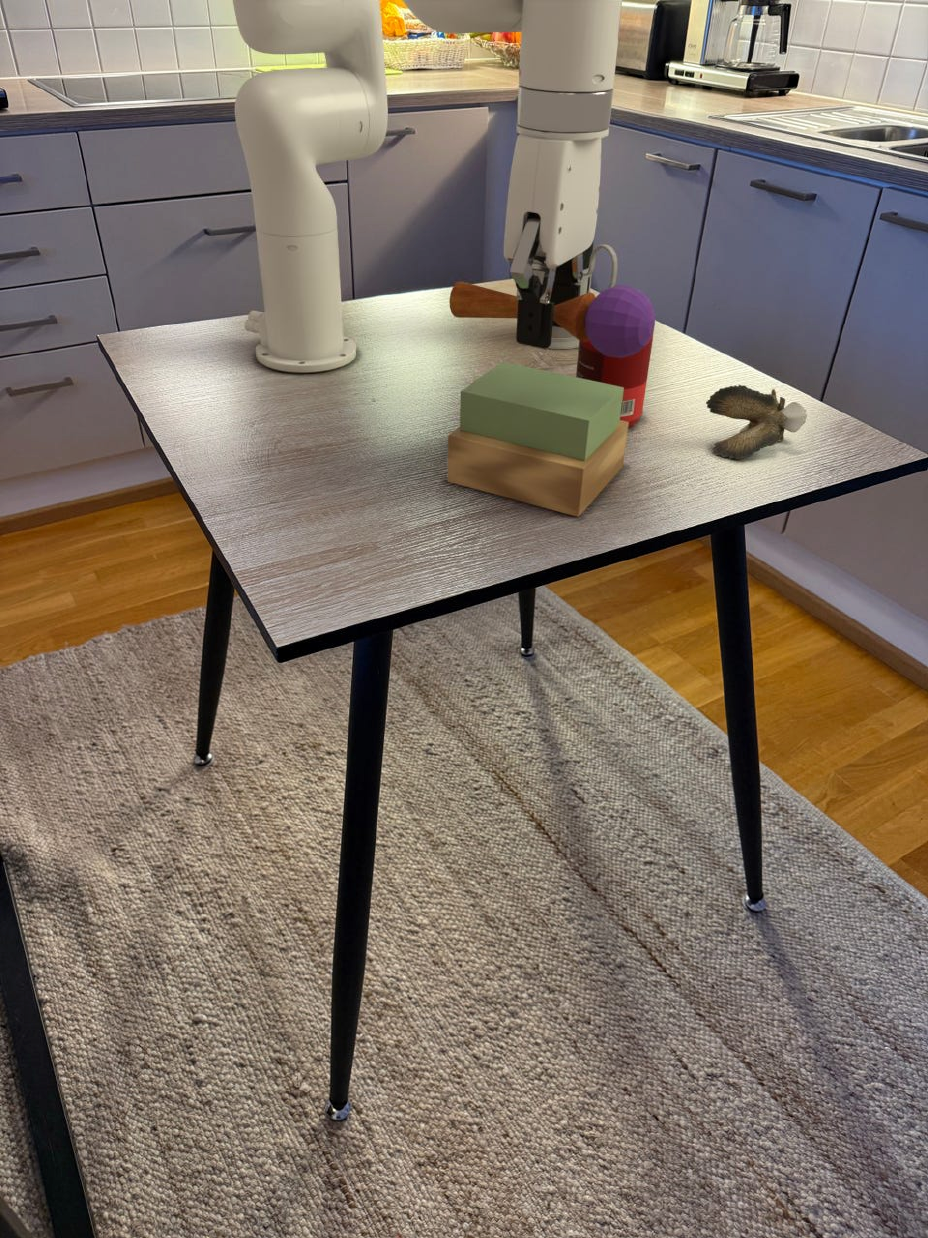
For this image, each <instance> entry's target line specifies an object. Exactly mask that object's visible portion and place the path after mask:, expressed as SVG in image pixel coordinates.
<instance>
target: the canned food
mask: <svg viewBox="0 0 928 1238" xmlns="http://www.w3.org/2000/svg"><path fill="white" fill-rule="evenodd" d="M654 332H655V330H654V331H653V334H652V337H651V339H650V341H649V342H648V344H647V345H646V346H644V347H643V348H642V349H641V350H640V351H639V352H637V353H636V354H634V355H631V356H627V357H624V358H618V357H611V356H607V355H604V354H602V353H601V352H599V351H598V350H597V349H595V348H594V346H593V345H592V343H591V342H590V340H589V339H588V340H587V341H585V342H582V341H579V347H578V353H577V363H576V374H575V375H576V376H575V377H577V378H582V379H586V380H591V381H596V382H600V383H605V384H610V385H615V386H619V387H624V391H623V399H622V407H621V414H620V420H622V421H626V422H629V425H628V428H630V427H633V426H634V425H636V424H637V423H638V422H639V420H640V418H641V416H642V414H643V410H644V409H643V408H644V404H645V403H644V402H645V396H646V389H647V381H648V374H649V370H650V369H649V368H650V362H651V355H652V346H653V341H654Z"/></svg>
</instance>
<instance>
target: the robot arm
mask: <svg viewBox="0 0 928 1238" xmlns="http://www.w3.org/2000/svg"><path fill="white" fill-rule="evenodd" d="M402 3H404V5H405V6H406V7H407V9H408V10H409V11H410V13H412V14H413V15H414V16H415V17H416V19H418V20H419V22H421V24H423V25H424V26H426V27H428V28H429V29H431V30H434V31H436V32H438V33H441V34H447V35H450V34H451V35H459V34H461V35H462V34H479V33H480V34H481V33H482V34H483V33H501V34H502V33H503V34H504V33H519V32H520V51H519V70H518V88H517V89H518V90H517V110H516V130H515V132H516V133H517V134H518V135H517V137H516V142H515V146H514V151H513V157H512V164H511V168H510V175H509V184H508V191H507V201H506V211H505V224H504V235H503V236H504V237H503V251H502V252H503V257H504V259H505V261H506V262H508V263H511V266H510V271H509V272H510V276H511V277H512V279H513V281H514V283H515V286H516V287H515V288H516V296H517V299H518V315H517V318H516V333H515V341H516V342H517V343H518V345H524V346H529V347H533V348H539V349H543V350H545V349H546V350H547V349H549V348H548V347H549V346H550V345H551V338H552V326H556V327H561V326H560V325H559V324H557V323H556V322H555V321H553V313H554V306H555V305H558V304H560V303H563V302H566V301H568V300H571V299H573V298H576V297H579V296H580V288H581V285H577V284H580V283H581V281H582V278H583V260H584V259H585V255H586V252H585V250H586V249H588V248H589V247H590V246H591V244H592V242H593V240H594V241H595V234H596V230H597V229H596V228H597V222H598V212H599V201H600V188H601V171H602V139H605V138H608V136H609V135H610V126H611V125H610V124H611V114H612V107H613V106H612V105H613V95H614V83H615V75H616V74H615V73H616V67H617V57H618V56H617V54H618V47H619V46H618V45H619V35H620V24H621V18H622V17H621V16H622V6H623V0H402ZM232 6H233V10H234V15H235V16H234V17H235V20H236V25H237V28H238V31H239V34H240V36H241V38H242V40H243V42H244V43H245V44H246V45H247V46H248V47H249V48H250V49H252V50H254V51H255V52H259V53H261V54H265V55H267V54H268V55H305V54H323V55H324V59H325V64H326V67H301V68H300V67H299V68H284V69H273V70H267V71H264V72H263V71H262V72H261V73H257V74H255V75H253V76H252V77H250V78H248V79H247V80H246V81H244V83H243V84H242V85H241V86H240V88H239V89H238V92H237V94H236V96H235V101H234V118H235V126H236V129H237V135H238V138H239V141H240V145H241V148H242V152H243V156H244V160H245V164H246V168H247V173H248V179H249V184H250V190H251V191H250V192H251V196H252V207H253V214H254V215H253V216H254V225H255V232H256V233H255V234H256V242H257V243H256V244H257V253H258V262H259V272H260V282H261V283H260V284H261V292H262V302H263V311H264V312H262V311H258V310H251V311H250V312H249V314H248V317H247V319H246V320H245V321H244V330H245V331H247V332H251V333H258V334H259V339H260V342H259V343H258V344H257V345H256V347H255V355H256V359H257V361H258V362H259V363H260V364H261V365H263V366H264V367H266V368H270V369H272V370H275V371H279V372H286V373H298V374H300V373H301V374H303V373H304V374H306V373H309V374H310V373H321V372H327V371H332V370H335V369H336V370H337V369H339V368H342V367H344V366H346V365H348V364H350V363H351V362H352V361H354V359H355V358H356V357H357V345H356V343H355V342H354V341H353V340H352V339H351V338H349V337H347V336H345V335H344V325H343V307H342V305H343V303H342V284H341V268H340V267H341V266H340V249H339V248H340V247H339V229H338V214H337V207H336V203H335V201H334V198H333V196H332V194H331V192H330V191H329V189H328V187H327V185H326V184H325V183H324V181H323V180H322V178H321V176H320V175H319V173H318V170H317V168H316V167H317V166H320V165H325V164H329V163H338V162H346V161H352V160H360V159H364V158H367V157H370V156H372V155H374V154H375V153H376V152H377V151H379V149H380V148H381V147H382V145H383V143H384V141H385V139H386V135H387V131H388V123H389V122H388V121H389V112H388V111H389V110H388V109H389V107H388V106H389V105H388V91H387V79H386V77H387V76H386V64H385V51H384V37H383V24H382V13H381V5H380V0H232ZM535 256H542V257H546V260H545V261H544V263H546V264H541V263H535V262H533V260H534V258H535ZM533 270H535V271H541V272H544V278H543V283H542V284H541V281H540V279H539V277H538V276H535V275H534V274H533ZM554 280H555V281H554ZM575 283H577V284H575ZM561 328H563V327H561Z"/></svg>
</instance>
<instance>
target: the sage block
mask: <svg viewBox="0 0 928 1238" xmlns="http://www.w3.org/2000/svg"><path fill="white" fill-rule="evenodd" d="M623 391H624V387H619V386H615V385H610V384H605V383H600V382H596V381H591V380H586V379H582V378H577V377H576V376H572V375H567V374H563V373H558V372H553V371H548V370H543V369H538V368H534V367H529V366H525V365H519V364H515V363H511V362H504V361H502V362H500V363H499V364H497V365H496V366H495V367H493V368H491V369H490V370H489V371H487V372H486V373H485V374H484V375H482V376H480V377H479V378H477V379H476V380H475V381H473V382H471V383H470V384H469V385H467V386H466V387H465V388H463V389H462V390H460V409H459V410H460V412H459V414H460V417H459V418H460V419H459V427H460V430H461V431H465V432H469V433H473V434H477V435H481V436H485V437H489V438H493V439H497V440H501V441H505V442H509V443H514V444H518V445H522V446H526V447H530V448H534V449H538V450H542V451H546V452H550V453H554V454H558V455H562V456H566V457H570V458H574V459H578V460H583V461H585V460H586V459H587V458H588V457H589V456H590V455H591V454H592V453H593V452H594V451H595V450H596V449H597V448H598V447H599V446H600V445H601V444H602V443H603V442H604V441H605V440H606V439H607V438H608V437H609V436H610V435H611V434H612V433H613V432H614V430H615V429H616V428H617V427H618V426H619V422H620V414H621V407H622V399H623Z"/></svg>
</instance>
